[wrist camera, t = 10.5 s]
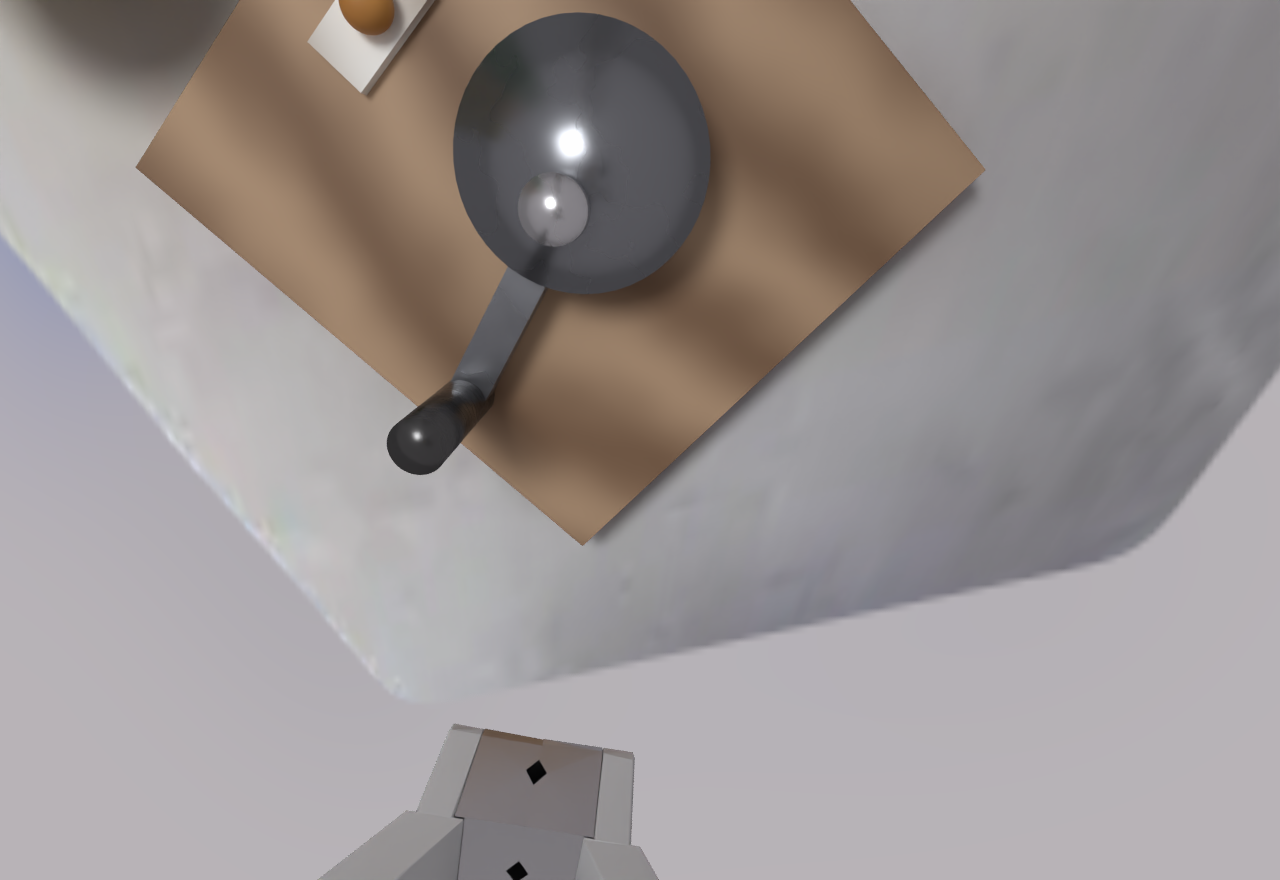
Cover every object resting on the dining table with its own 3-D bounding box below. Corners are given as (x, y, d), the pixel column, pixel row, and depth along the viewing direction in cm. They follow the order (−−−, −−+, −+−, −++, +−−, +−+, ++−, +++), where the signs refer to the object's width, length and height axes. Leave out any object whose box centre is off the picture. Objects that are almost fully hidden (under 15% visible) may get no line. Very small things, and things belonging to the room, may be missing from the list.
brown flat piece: (520, -372, 21) (490, -499, 17) (962, 172, 26) (1013, 166, 22) (172, 170, 27) (93, 163, 23) (586, 526, 32) (577, 568, 28)
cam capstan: (538, -23, 22) (491, -115, 16) (751, 120, 24) (785, 87, 17) (367, 361, 27) (280, 405, 21) (552, 461, 29) (522, 532, 22)
